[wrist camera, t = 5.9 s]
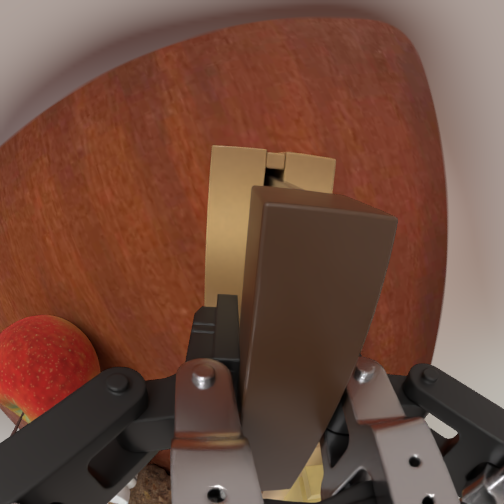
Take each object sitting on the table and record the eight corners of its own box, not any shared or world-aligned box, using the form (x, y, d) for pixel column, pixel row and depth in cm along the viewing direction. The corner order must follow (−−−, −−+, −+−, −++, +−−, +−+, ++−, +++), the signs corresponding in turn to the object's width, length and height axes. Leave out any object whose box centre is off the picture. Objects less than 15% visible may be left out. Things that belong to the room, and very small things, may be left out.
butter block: (283, 499, 26) (286, 520, 22) (298, 477, 23) (303, 503, 19) (316, 495, 27) (320, 515, 23) (337, 470, 23) (345, 495, 20)
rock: (163, 462, 22) (166, 536, 14) (186, 473, 26) (191, 536, 17) (100, 458, 22) (97, 522, 14) (128, 471, 26) (128, 528, 17)
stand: (280, 349, 17) (291, 392, 14) (209, 346, 17) (205, 391, 13) (309, 158, 13) (337, 159, 10) (217, 148, 13) (211, 145, 9)
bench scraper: (263, 337, 17) (290, 489, 7) (228, 336, 17) (231, 492, 7) (283, 173, 14) (399, 217, 4) (240, 169, 13) (263, 201, 4)
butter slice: (301, 472, 22) (307, 500, 19) (304, 466, 22) (311, 495, 18) (341, 465, 23) (350, 491, 19) (347, 459, 22) (356, 486, 19)
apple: (133, 335, 16) (82, 462, 7) (102, 391, 18) (66, 486, 9) (41, 268, 14) (-54, 352, 5) (27, 338, 16) (-31, 415, 7)
